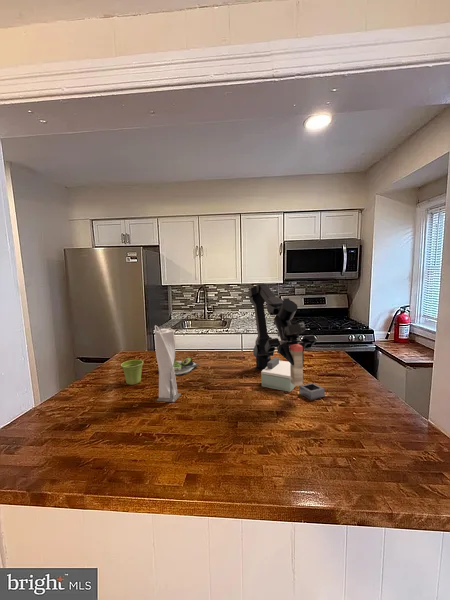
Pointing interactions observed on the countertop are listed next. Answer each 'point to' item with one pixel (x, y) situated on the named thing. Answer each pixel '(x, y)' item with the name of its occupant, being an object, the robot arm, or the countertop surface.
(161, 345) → the skyscraper
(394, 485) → the countertop surface
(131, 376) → the plant pot
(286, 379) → the toolbox
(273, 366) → the toolbox lid
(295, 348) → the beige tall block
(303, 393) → the key socket
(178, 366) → the salad plate
